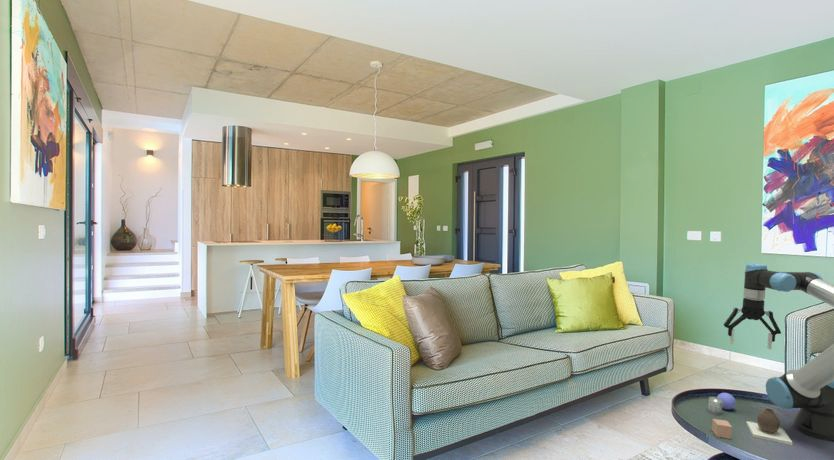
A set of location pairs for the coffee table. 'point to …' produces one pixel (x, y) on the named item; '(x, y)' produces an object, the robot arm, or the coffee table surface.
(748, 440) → the coffee table surface
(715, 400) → the metal tin
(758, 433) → the board
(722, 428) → the terracotta block
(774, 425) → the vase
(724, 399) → the sphere
